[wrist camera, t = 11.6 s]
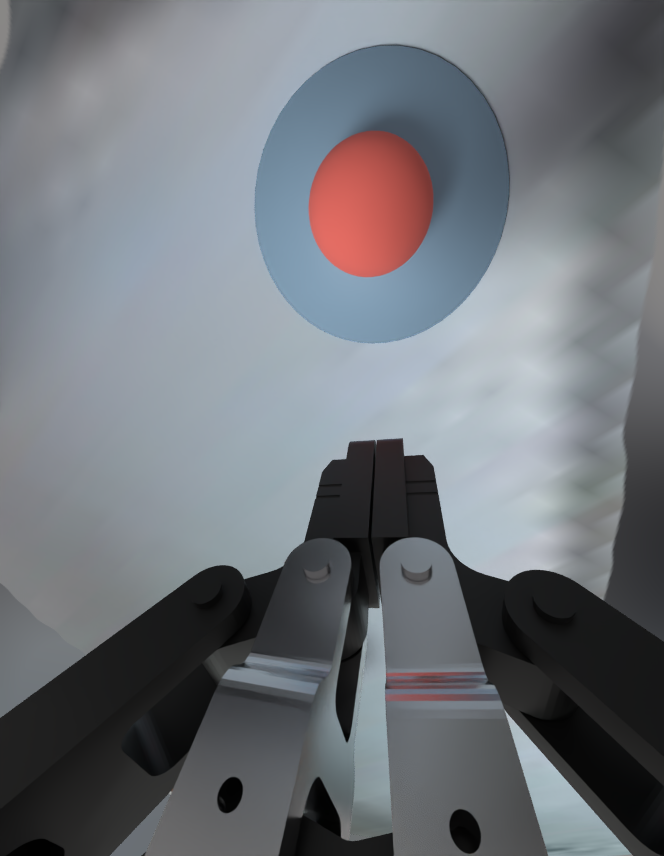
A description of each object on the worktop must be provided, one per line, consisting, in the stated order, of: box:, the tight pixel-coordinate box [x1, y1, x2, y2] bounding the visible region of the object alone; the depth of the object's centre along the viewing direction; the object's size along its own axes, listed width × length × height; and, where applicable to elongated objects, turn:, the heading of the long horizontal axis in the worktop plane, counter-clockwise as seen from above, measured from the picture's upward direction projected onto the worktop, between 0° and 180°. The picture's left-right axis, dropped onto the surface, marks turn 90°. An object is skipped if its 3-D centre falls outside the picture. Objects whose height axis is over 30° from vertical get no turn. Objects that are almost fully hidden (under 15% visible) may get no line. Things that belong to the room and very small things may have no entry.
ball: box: [309, 131, 433, 277], centre depth 17 cm, size 6×6×6 cm
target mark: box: [255, 46, 509, 343], centre depth 20 cm, size 14×14×1 cm
